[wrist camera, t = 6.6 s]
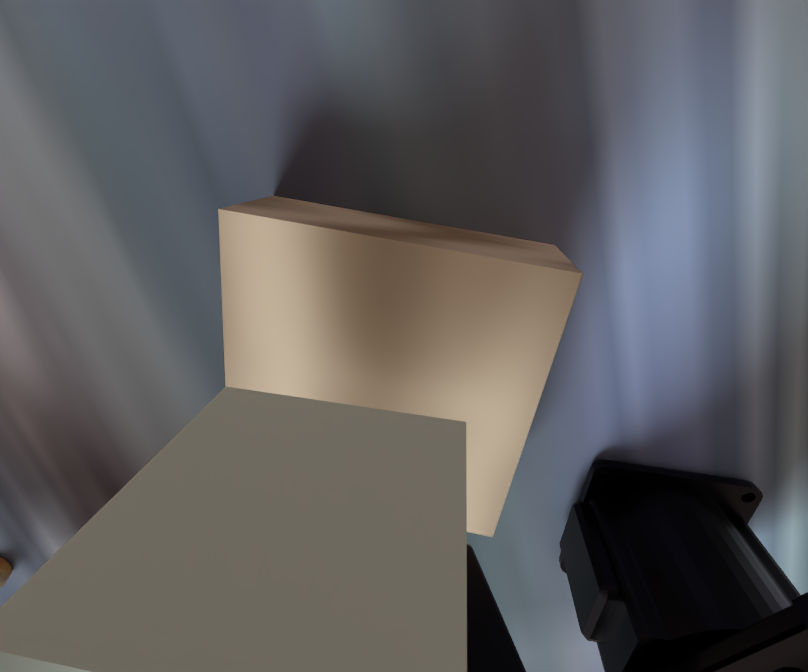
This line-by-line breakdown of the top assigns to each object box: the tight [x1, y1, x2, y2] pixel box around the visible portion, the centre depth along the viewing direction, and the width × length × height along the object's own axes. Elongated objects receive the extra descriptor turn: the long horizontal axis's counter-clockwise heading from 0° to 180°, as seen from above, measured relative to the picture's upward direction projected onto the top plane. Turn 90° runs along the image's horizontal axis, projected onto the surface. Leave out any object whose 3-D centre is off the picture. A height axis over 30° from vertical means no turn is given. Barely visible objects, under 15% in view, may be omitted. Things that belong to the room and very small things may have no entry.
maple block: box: [218, 196, 583, 537], centre depth 15 cm, size 10×10×4 cm
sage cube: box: [0, 387, 467, 672], centre depth 7 cm, size 5×5×5 cm
